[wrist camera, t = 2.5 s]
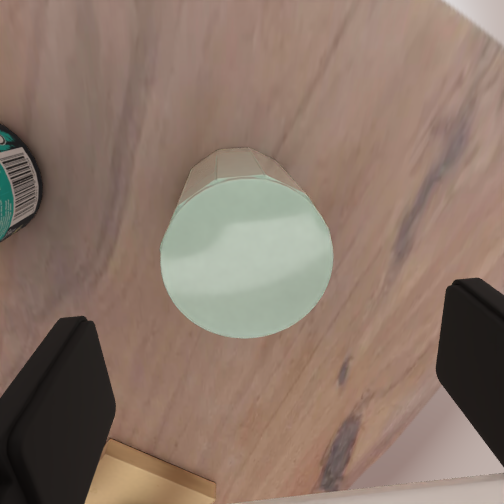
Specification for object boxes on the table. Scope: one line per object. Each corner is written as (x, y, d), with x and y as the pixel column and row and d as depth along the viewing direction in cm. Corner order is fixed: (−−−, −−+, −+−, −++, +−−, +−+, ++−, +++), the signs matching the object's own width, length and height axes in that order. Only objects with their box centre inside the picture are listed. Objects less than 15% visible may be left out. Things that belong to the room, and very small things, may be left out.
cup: (158, 192, 24) (122, 247, 15) (252, 123, 23) (273, 140, 14) (225, 275, 26) (228, 365, 17) (313, 217, 25) (363, 281, 16)
